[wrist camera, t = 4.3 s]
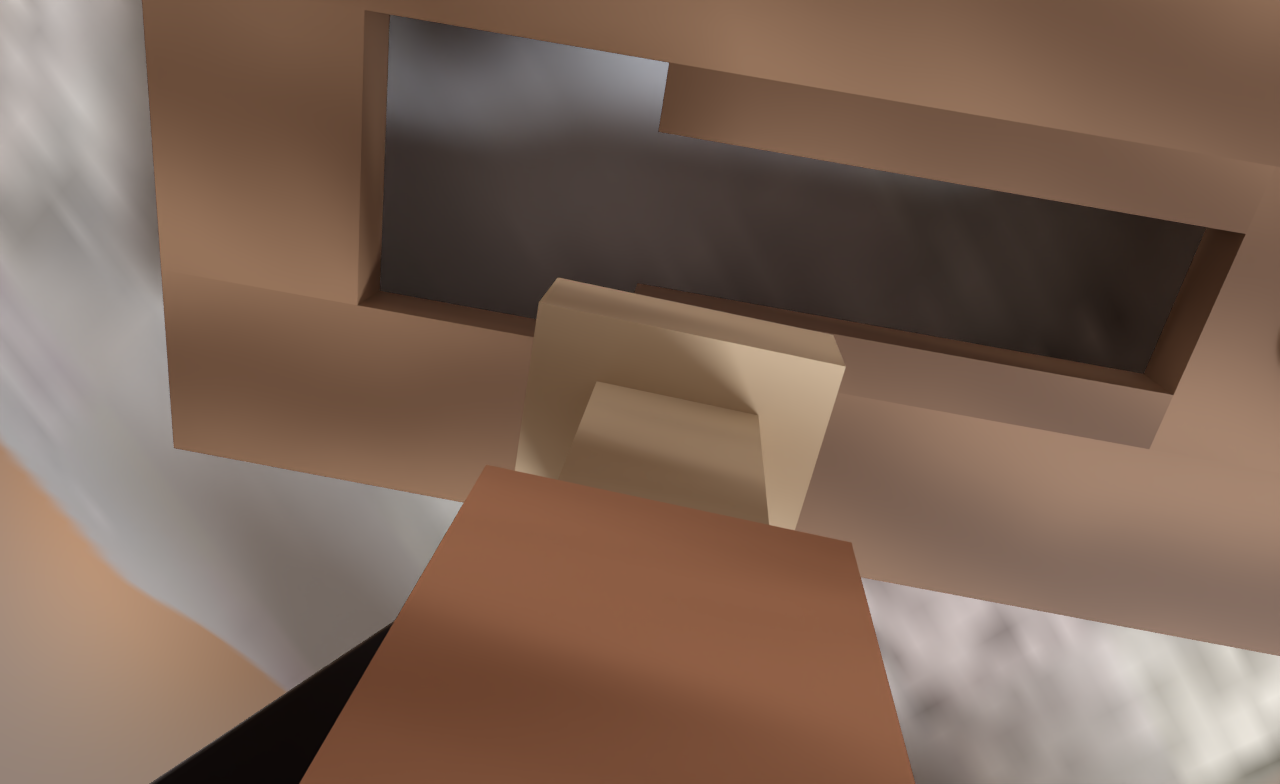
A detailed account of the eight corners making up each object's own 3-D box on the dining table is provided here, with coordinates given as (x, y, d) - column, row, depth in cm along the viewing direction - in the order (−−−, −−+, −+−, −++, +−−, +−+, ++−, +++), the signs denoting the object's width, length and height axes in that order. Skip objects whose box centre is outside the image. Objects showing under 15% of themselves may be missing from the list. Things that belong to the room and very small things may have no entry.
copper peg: (764, 565, 14) (847, 1599, 5) (521, 513, 14) (117, 1426, 5) (833, 334, 13) (1187, 1224, 3) (557, 277, 13) (33, 967, 3)
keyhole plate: (1215, 561, 21) (1325, 669, 17) (265, 385, 22) (167, 452, 18) (1515, -23, 16) (1770, -54, 12) (251, -230, 17) (111, -322, 13)
